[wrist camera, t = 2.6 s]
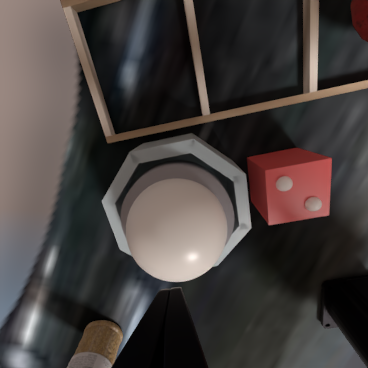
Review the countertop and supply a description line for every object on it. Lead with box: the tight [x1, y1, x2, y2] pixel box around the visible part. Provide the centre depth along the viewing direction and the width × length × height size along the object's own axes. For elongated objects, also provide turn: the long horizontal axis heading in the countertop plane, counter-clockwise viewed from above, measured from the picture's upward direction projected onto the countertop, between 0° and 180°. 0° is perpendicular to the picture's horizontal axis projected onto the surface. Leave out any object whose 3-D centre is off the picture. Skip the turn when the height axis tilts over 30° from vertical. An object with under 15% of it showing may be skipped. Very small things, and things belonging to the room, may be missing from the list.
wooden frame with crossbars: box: [60, 0, 368, 143], centre depth 13 cm, size 9×23×1 cm, turn 102°
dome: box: [121, 160, 235, 282], centre depth 12 cm, size 7×7×6 cm
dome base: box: [102, 133, 332, 267], centre depth 15 cm, size 10×15×4 cm, turn 102°
